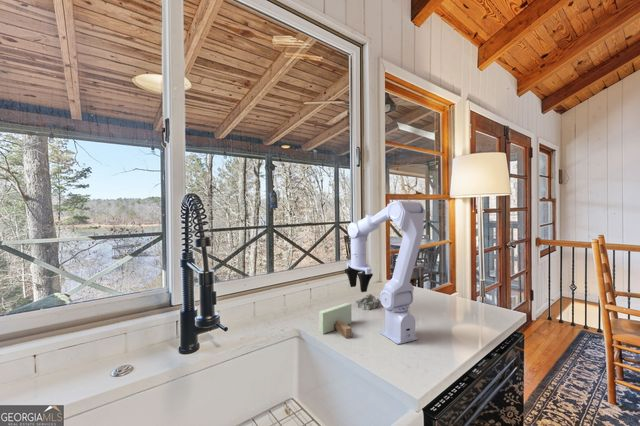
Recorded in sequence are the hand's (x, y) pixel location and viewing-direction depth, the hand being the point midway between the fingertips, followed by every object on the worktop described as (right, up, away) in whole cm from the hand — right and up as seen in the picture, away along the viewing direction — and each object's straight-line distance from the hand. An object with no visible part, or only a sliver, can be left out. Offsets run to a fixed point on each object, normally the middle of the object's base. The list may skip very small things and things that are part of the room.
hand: (358, 289), depth 113 cm
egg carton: (+6, -11, +11) cm, 17 cm away
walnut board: (-9, -11, -11) cm, 18 cm away
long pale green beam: (-9, -11, -11) cm, 18 cm away
